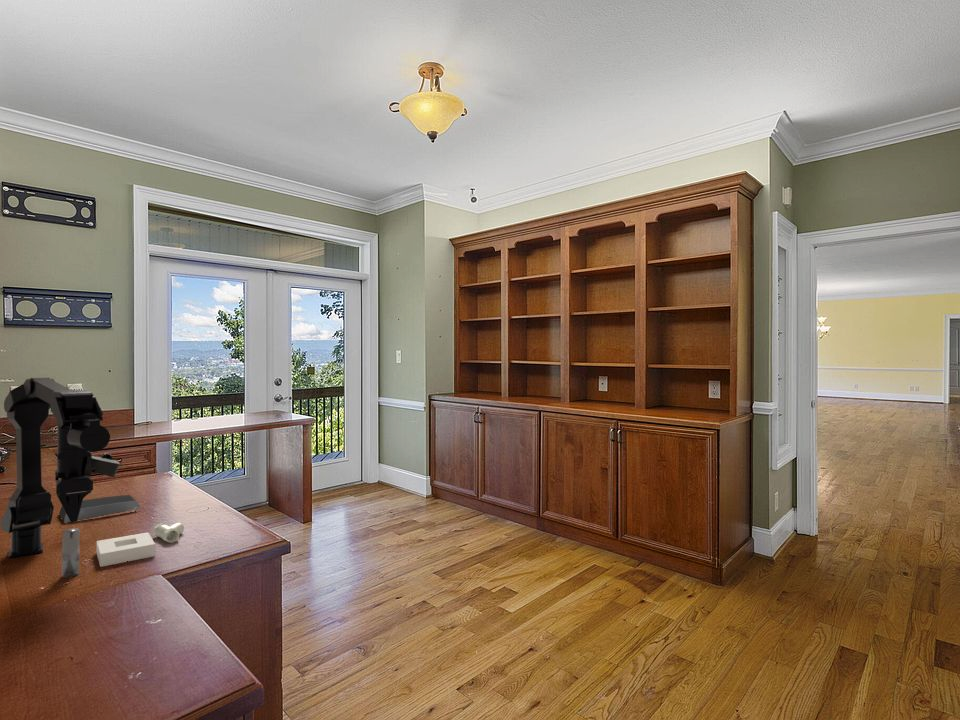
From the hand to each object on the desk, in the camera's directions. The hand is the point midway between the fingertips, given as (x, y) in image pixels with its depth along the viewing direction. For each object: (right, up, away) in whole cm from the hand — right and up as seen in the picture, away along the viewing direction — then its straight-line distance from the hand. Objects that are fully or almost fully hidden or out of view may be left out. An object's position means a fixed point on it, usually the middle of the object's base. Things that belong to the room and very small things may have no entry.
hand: (73, 516), depth 119 cm
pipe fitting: (+8, -14, +25) cm, 29 cm away
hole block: (+4, -13, +12) cm, 18 cm away
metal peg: (0, -13, 0) cm, 13 cm away
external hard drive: (-27, -13, +46) cm, 55 cm away
